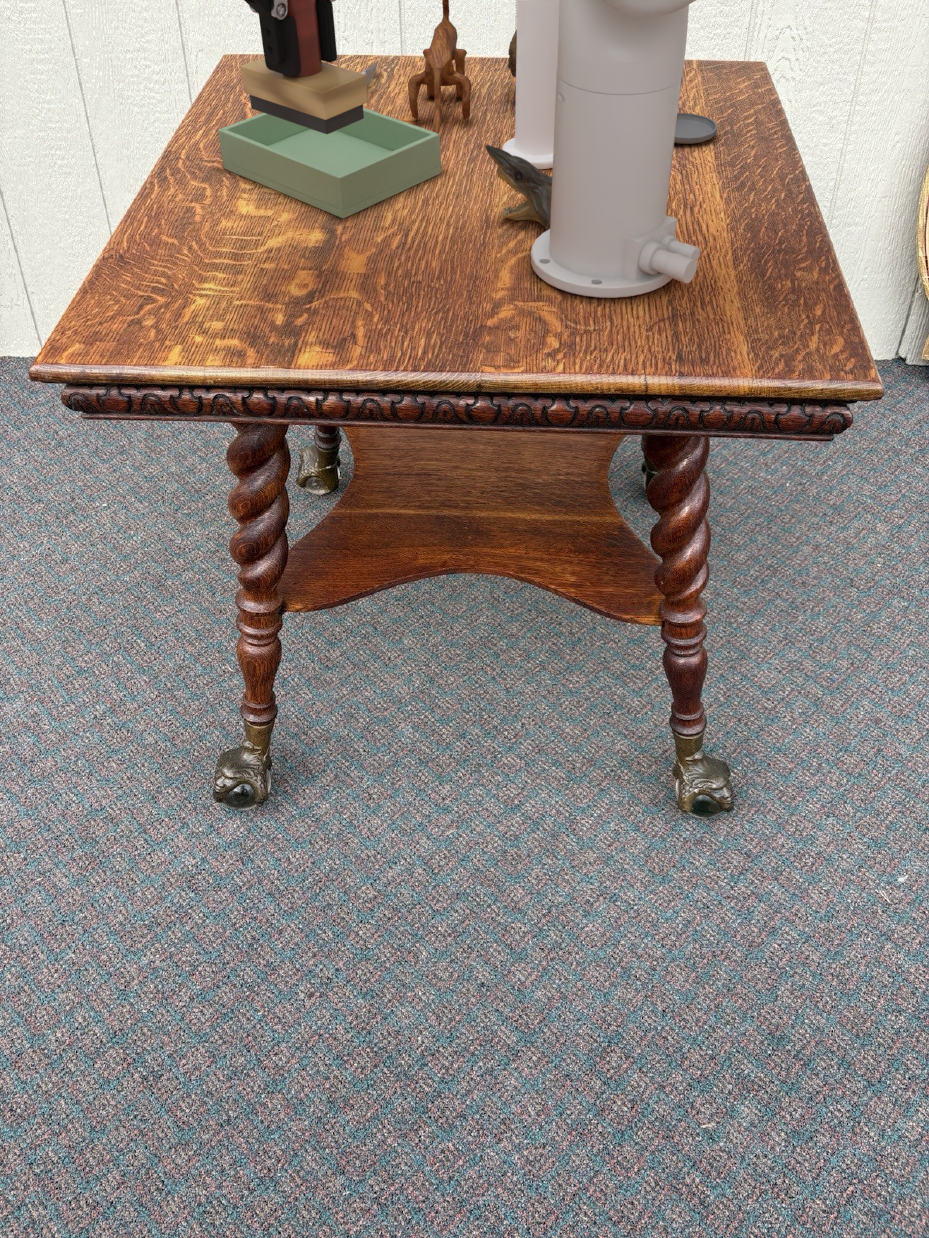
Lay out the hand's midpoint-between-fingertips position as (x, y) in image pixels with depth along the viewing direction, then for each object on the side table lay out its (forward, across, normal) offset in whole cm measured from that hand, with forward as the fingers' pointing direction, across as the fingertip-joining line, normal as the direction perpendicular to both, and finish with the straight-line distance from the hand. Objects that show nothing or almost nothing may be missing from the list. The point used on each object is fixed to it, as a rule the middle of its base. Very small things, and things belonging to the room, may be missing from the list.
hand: (301, 62), depth 85 cm
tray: (+17, +15, +15) cm, 27 cm away
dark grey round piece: (+17, +45, -6) cm, 48 cm away
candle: (+17, +31, +1) cm, 36 cm away
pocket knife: (+17, +33, +27) cm, 46 cm away
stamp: (+4, 0, 0) cm, 4 cm away
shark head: (+17, +19, -7) cm, 27 cm away
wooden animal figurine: (+17, +32, +15) cm, 40 cm away
